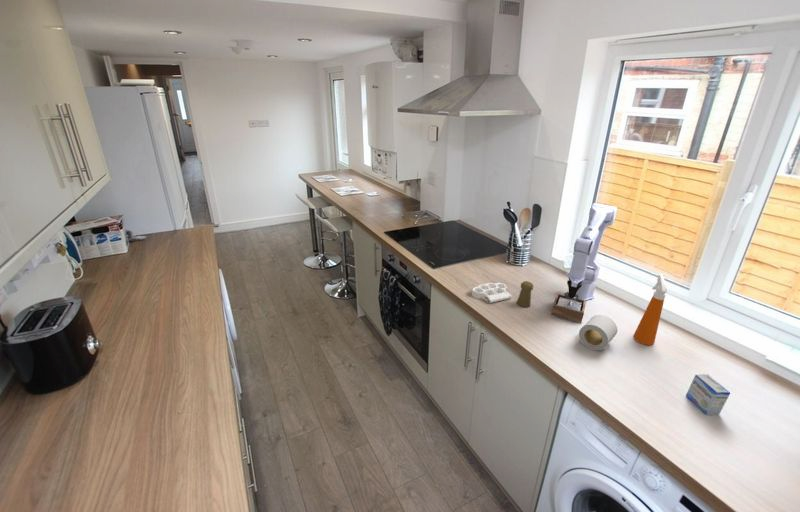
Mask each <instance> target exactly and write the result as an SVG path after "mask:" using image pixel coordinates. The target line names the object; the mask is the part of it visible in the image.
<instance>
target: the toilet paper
mask: <svg viewBox="0 0 800 512" xmlns="http://www.w3.org/2000/svg"><path fill="white" fill-rule="evenodd" d="M617 333H618V326H617V324H616V322H615V321H614V320H613V319H612V318H611V317H609V316H607V315H604V314H596V315H594V316H592V317H591V318H590V319H588V321H586V323H585V324H584V325H583V326H582V327H580V329H579V332H578V338H579V340H580V341H581V343H582V344H583V345H584V346H585V347H587V349H590V350H592V351H602V350H604V349H605V348H607V347H608V345H609V344H610V342H612V340H613V339H614V338H615V337H616V336H617Z"/></svg>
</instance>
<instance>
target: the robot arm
mask: <svg viewBox="0 0 800 512" xmlns="http://www.w3.org/2000/svg"><path fill="white" fill-rule="evenodd" d="M617 213H618V207H617V206H612V205H606V204H603V203H602V204H601V203H600V204H599V203H596V202H594V203H592V204H591V206H590V209H589V213H588V215H589V222H590V223H589V225H587V226H585V227H584V229H583V230H582V232H581V235H580V236H579V238H576V239H575V241H574V244H573V252H572V253H573V254H572V255H573V257H572V262H571V264H570V265H571V266H570V269H569V272H566V273H565V277H568V280H567V281H566V284H567V287H568V292H569V293H568V295H569V297H572V298H574V297H575V295H578V296H579V298H578V299H582V300H586V301H589V300H592V299H595V296H594V294H595V289H596V287H597V285H596V281H597V280H598V276H599V272H600V265H599V264H598V263H597V262H596V258H597V255H598V252H599V250H600V246H601V243H602V241H603V238H604V237H603V236H604V234H605V231H606V229H607V227H610V226H613V224H614V222H615V219H616V216H617Z"/></svg>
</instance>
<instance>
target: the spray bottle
mask: <svg viewBox="0 0 800 512" xmlns="http://www.w3.org/2000/svg"><path fill="white" fill-rule="evenodd" d="M664 276H665V275H663V274H662V273H658V275H657V277H658V278H657V282H656V283H655V285H654V286H653V287H652V289H651V290H655V291H654V292H653V294H652V296H651V298H650V301H649V303H648V304H647V307H646V309H645V311H644V313H643V315H642V317H641V319H640V321H639V323H638V325H637V327H636V329H635V331H634V333H633V334H632V335H633V336H632V337H633V338H634V340H635V341H636V342H638V343H640V344H642V345H646V346H652V345H654V344H655V342H656V337H657V333H658V328H659V325H660V319H661V315H662V312H663V311H662V310H663V306H664V303H665V298H666V296H667V294H666V293H667V292H668V288H667V287H668V286H667V283H666V280H665V277H664Z"/></svg>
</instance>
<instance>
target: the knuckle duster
mask: <svg viewBox="0 0 800 512" xmlns="http://www.w3.org/2000/svg"><path fill="white" fill-rule="evenodd" d="M507 288H508V287H507V285H506V284H505V283H502V282H496V283H495V282H494V283H493V282H487V283H483V284H482V283H481V284H479V285H478V286H476V287H475V286H474V287H472V290H471V296H472V297H473V298H475V299H482V300H484V301H486V302H487V303H488V304H492V303H496V302H500V301H501V302H502V301H506V300H511V298H512V295H511V293H510V292H508V291H507Z"/></svg>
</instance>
